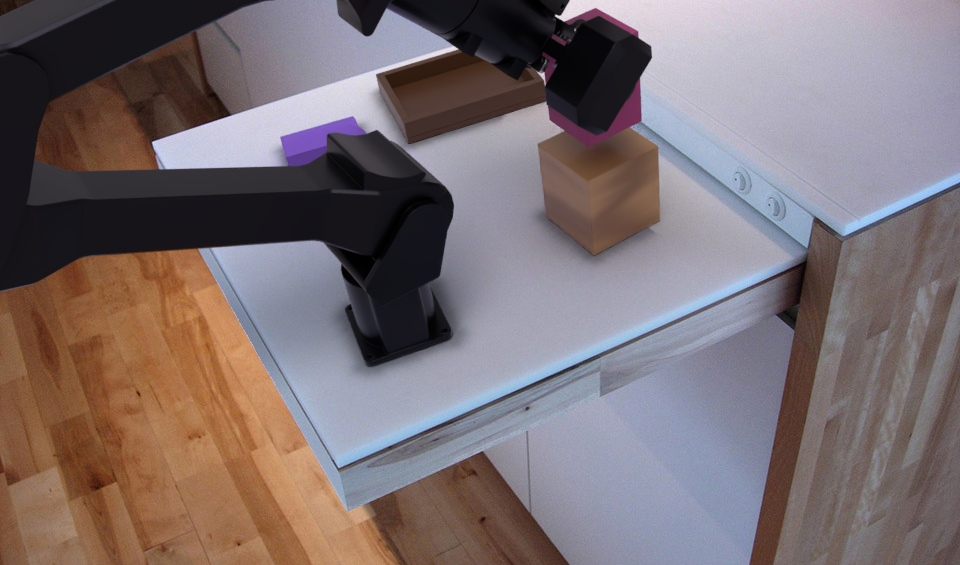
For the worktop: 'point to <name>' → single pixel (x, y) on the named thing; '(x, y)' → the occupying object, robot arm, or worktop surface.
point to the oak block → (600, 187)
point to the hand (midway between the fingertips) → (608, 78)
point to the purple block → (315, 140)
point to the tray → (453, 93)
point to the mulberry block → (628, 112)
